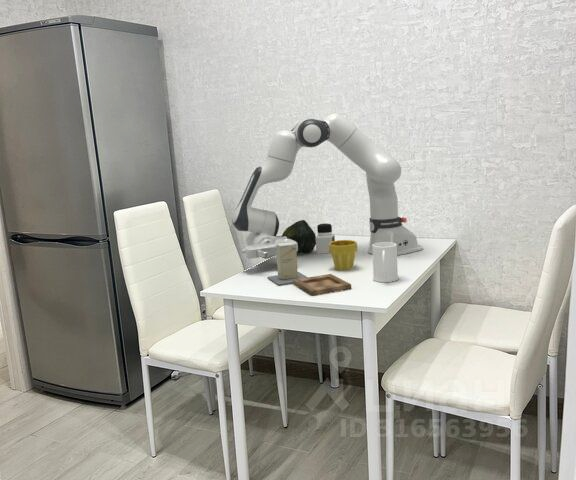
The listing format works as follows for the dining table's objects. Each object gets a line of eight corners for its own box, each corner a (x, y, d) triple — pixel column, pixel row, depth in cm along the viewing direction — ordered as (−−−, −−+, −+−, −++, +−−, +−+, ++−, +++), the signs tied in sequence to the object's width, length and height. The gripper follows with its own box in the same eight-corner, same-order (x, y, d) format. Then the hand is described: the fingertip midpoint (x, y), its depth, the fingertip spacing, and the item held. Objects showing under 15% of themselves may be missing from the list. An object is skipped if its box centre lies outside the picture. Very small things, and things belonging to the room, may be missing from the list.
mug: (395, 285, 186) (394, 249, 184) (369, 285, 189) (367, 249, 187) (400, 276, 197) (399, 241, 195) (375, 275, 200) (373, 241, 198)
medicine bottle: (333, 253, 239) (331, 225, 236) (316, 254, 240) (314, 225, 238) (335, 249, 246) (333, 222, 243) (318, 250, 247) (317, 222, 245)
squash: (271, 240, 247) (283, 216, 237) (298, 236, 255) (312, 213, 246) (286, 266, 240) (299, 242, 230) (314, 260, 248) (328, 237, 239)
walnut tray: (330, 278, 201) (330, 273, 200) (351, 289, 186) (351, 284, 186) (293, 284, 196) (293, 279, 196) (311, 296, 181) (311, 291, 181)
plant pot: (355, 272, 207) (353, 245, 205) (327, 271, 210) (325, 245, 208) (360, 265, 216) (359, 239, 214) (334, 264, 220) (332, 239, 218)
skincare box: (281, 280, 200) (279, 246, 198) (277, 277, 204) (275, 244, 202) (298, 277, 202) (296, 243, 200) (294, 274, 206) (291, 241, 204)
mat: (298, 273, 210) (298, 271, 210) (311, 280, 199) (311, 279, 199) (267, 278, 206) (267, 276, 206) (278, 286, 195) (278, 284, 195)
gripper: (239, 242, 219) (250, 248, 207) (289, 235, 226) (302, 241, 213) (240, 258, 221) (251, 265, 208) (290, 251, 227) (303, 257, 215)
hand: (277, 253), depth 211 cm, fingers open, 8 cm apart
